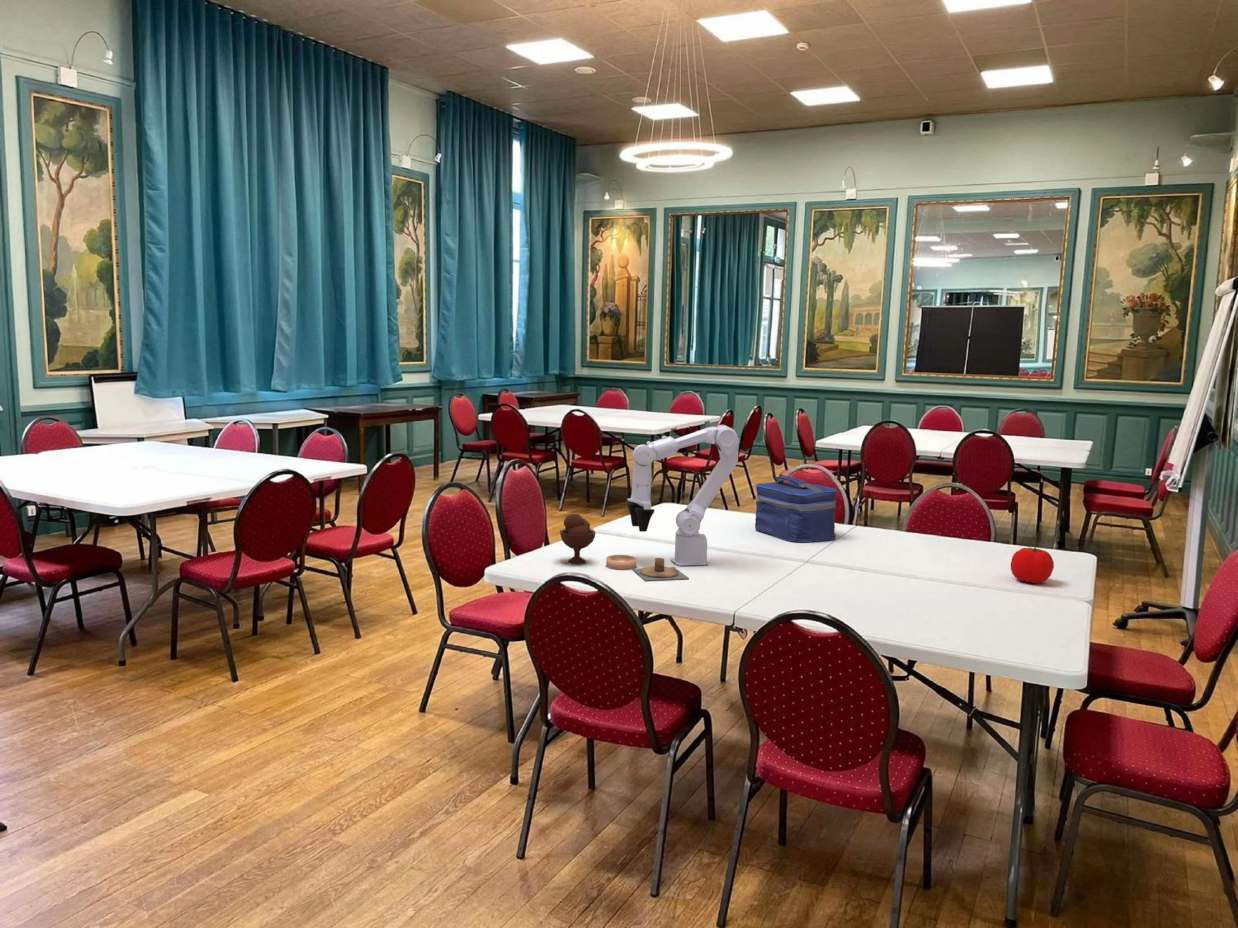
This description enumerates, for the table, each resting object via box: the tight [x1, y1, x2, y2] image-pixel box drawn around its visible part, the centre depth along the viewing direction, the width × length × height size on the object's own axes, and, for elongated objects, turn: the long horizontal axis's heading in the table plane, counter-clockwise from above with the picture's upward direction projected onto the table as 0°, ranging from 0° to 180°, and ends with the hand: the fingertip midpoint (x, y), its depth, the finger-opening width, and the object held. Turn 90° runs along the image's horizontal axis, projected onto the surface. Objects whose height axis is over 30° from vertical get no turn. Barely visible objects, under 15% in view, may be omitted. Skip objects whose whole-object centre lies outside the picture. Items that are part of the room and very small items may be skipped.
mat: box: [631, 566, 690, 582], centre depth 264 cm, size 13×13×1 cm
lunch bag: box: [754, 475, 837, 543], centre depth 327 cm, size 31×21×20 cm
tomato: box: [1010, 545, 1055, 584], centre depth 268 cm, size 12×12×10 cm
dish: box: [605, 554, 637, 571], centre depth 273 cm, size 9×9×2 cm
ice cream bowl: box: [559, 513, 596, 566], centre depth 275 cm, size 11×11×15 cm
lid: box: [640, 557, 679, 578], centre depth 264 cm, size 11×11×4 cm
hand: (639, 528), depth 277 cm, fingers open, 7 cm apart
